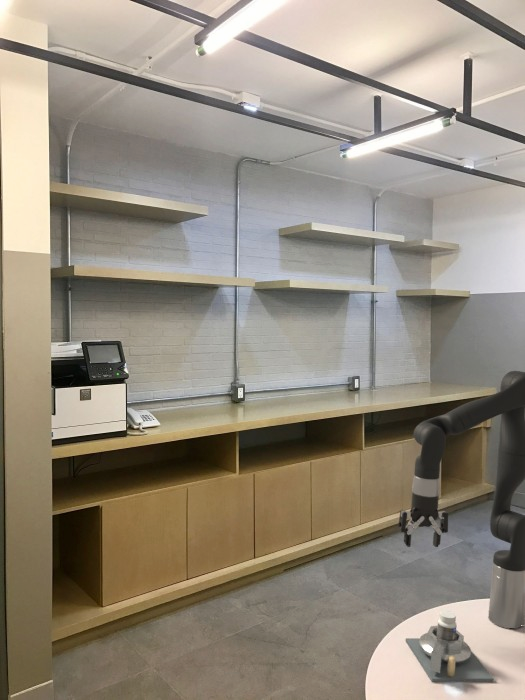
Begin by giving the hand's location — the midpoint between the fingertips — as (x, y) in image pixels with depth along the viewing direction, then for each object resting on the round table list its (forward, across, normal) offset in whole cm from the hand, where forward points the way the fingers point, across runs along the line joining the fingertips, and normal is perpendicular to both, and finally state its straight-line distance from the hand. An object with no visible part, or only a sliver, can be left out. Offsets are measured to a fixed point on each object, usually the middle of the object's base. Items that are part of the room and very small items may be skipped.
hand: (421, 546), depth 169 cm
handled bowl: (+20, -1, -20) cm, 29 cm away
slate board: (+22, 0, -20) cm, 30 cm away
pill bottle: (+20, 0, -18) cm, 27 cm away
